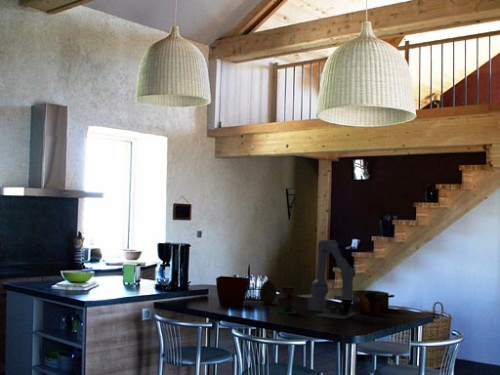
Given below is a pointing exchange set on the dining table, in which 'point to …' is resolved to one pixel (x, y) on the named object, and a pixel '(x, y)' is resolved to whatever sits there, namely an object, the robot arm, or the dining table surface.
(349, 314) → the breaker panel
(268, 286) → the decorative egg
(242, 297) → the plant pot
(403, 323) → the dining table surface
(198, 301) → the dining table surface
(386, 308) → the cooking pot
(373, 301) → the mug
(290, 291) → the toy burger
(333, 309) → the breaker
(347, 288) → the robot arm
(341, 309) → the breaker
